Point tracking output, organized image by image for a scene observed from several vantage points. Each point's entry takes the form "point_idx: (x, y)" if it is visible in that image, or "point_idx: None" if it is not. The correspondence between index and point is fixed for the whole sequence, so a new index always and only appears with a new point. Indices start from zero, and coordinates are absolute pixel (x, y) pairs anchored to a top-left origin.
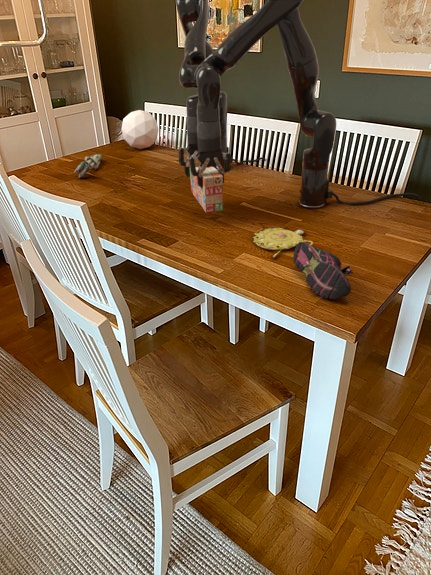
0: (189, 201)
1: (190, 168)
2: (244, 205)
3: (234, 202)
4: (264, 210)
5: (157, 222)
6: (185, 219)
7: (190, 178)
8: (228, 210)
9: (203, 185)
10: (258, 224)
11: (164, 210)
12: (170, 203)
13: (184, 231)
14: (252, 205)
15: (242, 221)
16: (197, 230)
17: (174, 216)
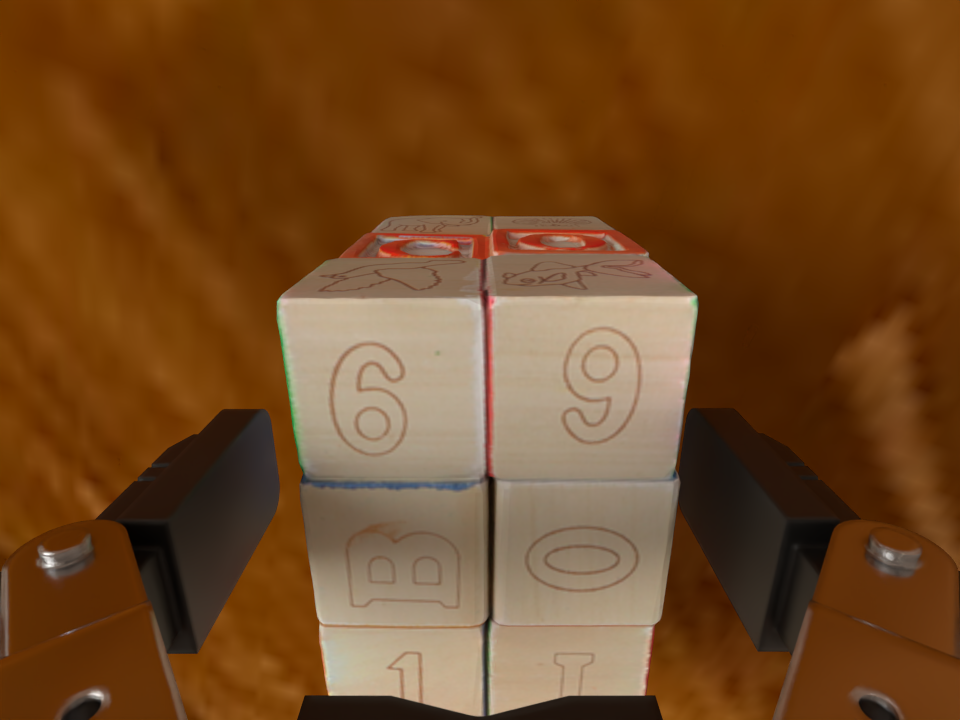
0: (400, 89)
1: (297, 329)
2: (862, 387)
3: (820, 289)
4: (940, 529)
5: (69, 470)
6: (296, 488)
7: (344, 256)
8: (681, 440)
9: None
10: (758, 699)
11: (120, 246)
12: (184, 70)
13: (265, 650)
14: (923, 410)
15: (685, 636)
16: None
17: (211, 407)
